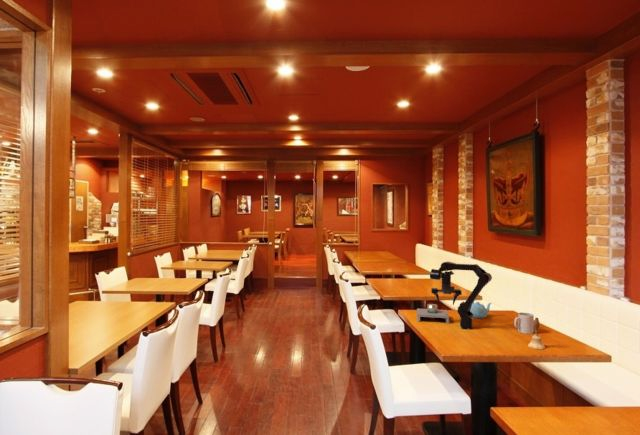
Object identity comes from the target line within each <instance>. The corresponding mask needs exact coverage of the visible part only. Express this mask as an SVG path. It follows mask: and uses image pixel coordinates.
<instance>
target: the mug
mask: <svg viewBox="0 0 640 435" xmlns="http://www.w3.org/2000/svg"><path fill="white" fill-rule="evenodd" d="M534 320H535V318H534V314H532V313H529V312H518V314H517V316H516V317H515V318H514V327H515V328H516V329H517V332H519V333H521V334H525V335H533V334H534V333H535V327H534Z"/></svg>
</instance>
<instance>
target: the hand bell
mask: <svg viewBox="0 0 640 435" xmlns="http://www.w3.org/2000/svg"><path fill="white" fill-rule="evenodd" d="M539 327H540V320H539V317H535V318H534V335H532V336H531V340H530V342H529V343H528V344H527V346H528V347H529V348H531V349H535V350H545V349H546V347H545V345H544V344H543V341H542V337H541V336H540V335H539Z"/></svg>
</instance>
